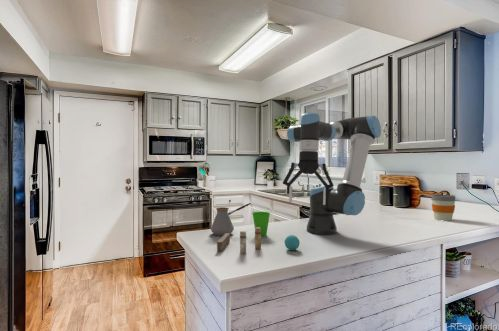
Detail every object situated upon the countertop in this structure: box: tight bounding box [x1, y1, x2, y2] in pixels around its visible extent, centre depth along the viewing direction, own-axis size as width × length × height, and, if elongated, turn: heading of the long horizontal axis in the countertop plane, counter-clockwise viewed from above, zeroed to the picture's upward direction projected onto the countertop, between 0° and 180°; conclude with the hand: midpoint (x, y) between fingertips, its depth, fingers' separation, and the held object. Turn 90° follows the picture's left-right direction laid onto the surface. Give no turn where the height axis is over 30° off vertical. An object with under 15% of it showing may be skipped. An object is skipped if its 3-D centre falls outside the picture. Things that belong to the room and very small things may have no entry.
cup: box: [251, 210, 271, 237], centre depth 137 cm, size 9×9×11 cm
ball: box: [284, 234, 301, 251], centre depth 114 cm, size 6×6×6 cm
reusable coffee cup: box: [430, 193, 457, 222], centre depth 175 cm, size 13×13×15 cm
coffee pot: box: [210, 202, 253, 236], centre depth 142 cm, size 21×12×15 cm, turn 108°
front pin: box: [254, 227, 262, 250], centre depth 117 cm, size 2×2×8 cm
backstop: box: [216, 233, 231, 253], centre depth 119 cm, size 2×14×4 cm, turn 171°
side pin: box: [239, 230, 247, 255], centre depth 110 cm, size 2×2×8 cm
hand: (306, 203), depth 115 cm, fingers open, 13 cm apart
